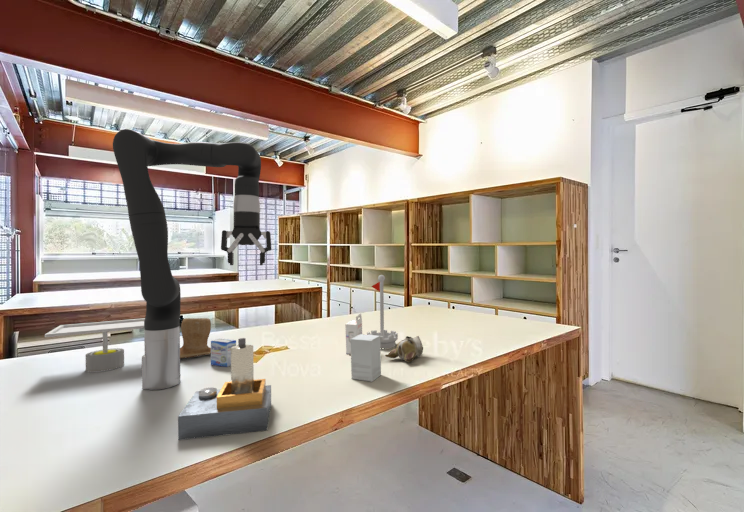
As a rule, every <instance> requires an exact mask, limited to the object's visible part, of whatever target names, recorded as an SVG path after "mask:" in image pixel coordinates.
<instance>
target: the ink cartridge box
mask: <svg viewBox="0 0 744 512" xmlns="http://www.w3.org/2000/svg"><path fill="white" fill-rule="evenodd" d="M344 329H345V354H346V355H351V339H352V338H354V337H356V336H358V335H360V334H363V317H362V313H359V314H358V315H356V317H355V319H353V320H349V321H348V322H347V323H345V328H344Z"/></svg>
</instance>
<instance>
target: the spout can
mask: <svg viewBox="0 0 744 512" xmlns="http://www.w3.org/2000/svg"><path fill="white" fill-rule="evenodd" d="M246 342H247V341H246V338H245V337H239V338H238V345H237V344H236V346H234V347H231V366H230V382H231V395H233V394H244V393H254V380H255V378H254V345H253V344H247V343H246Z"/></svg>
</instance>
